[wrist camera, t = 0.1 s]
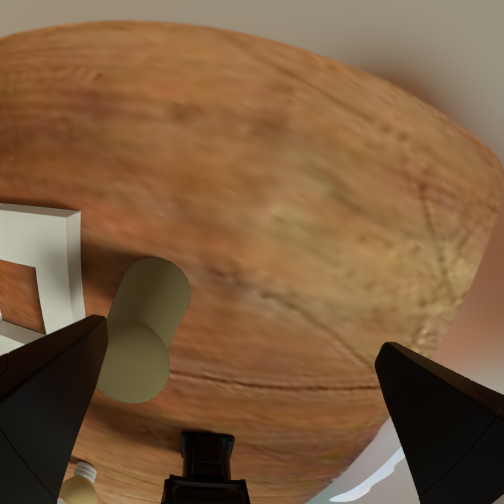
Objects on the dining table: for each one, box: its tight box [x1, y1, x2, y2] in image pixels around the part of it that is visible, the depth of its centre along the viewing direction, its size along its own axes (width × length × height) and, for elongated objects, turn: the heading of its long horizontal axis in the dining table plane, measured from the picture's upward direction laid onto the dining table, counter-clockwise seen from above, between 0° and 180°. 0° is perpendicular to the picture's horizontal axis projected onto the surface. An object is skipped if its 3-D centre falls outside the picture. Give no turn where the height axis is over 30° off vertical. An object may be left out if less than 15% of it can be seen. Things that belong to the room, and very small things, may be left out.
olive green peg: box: [96, 257, 191, 404], centre depth 18 cm, size 6×6×11 cm
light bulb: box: [61, 462, 98, 504], centre depth 27 cm, size 6×6×10 cm
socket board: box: [0, 203, 85, 356], centre depth 20 cm, size 18×16×2 cm
